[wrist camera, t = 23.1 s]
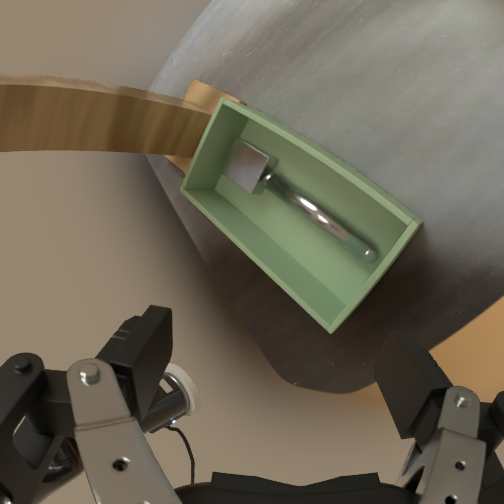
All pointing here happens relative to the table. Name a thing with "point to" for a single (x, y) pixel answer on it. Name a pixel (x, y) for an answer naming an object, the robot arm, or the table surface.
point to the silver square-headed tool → (292, 196)
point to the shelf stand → (103, 117)
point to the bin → (289, 220)
